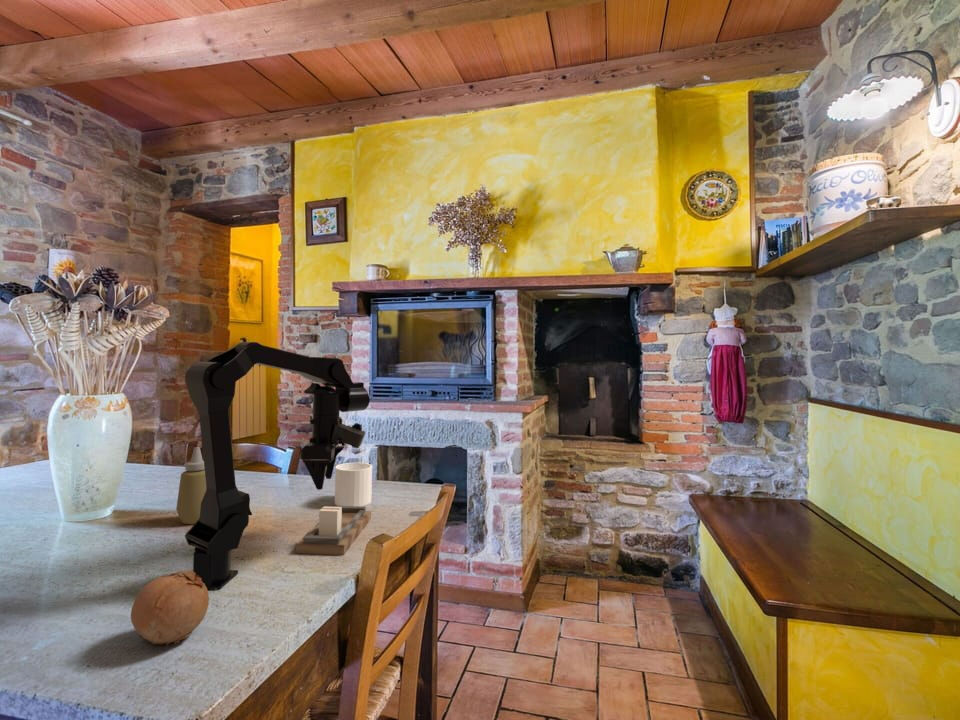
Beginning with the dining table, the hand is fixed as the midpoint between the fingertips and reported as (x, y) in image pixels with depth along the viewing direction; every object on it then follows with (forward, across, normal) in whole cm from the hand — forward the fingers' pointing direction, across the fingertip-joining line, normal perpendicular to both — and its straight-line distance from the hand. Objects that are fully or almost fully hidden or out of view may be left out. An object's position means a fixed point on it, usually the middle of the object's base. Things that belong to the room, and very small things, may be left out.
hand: (324, 483), depth 106 cm
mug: (+13, +29, -2) cm, 32 cm away
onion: (+13, -36, +14) cm, 40 cm away
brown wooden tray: (+13, +4, -2) cm, 13 cm away
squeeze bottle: (+13, +14, +34) cm, 39 cm away
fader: (+11, -1, -2) cm, 11 cm away
